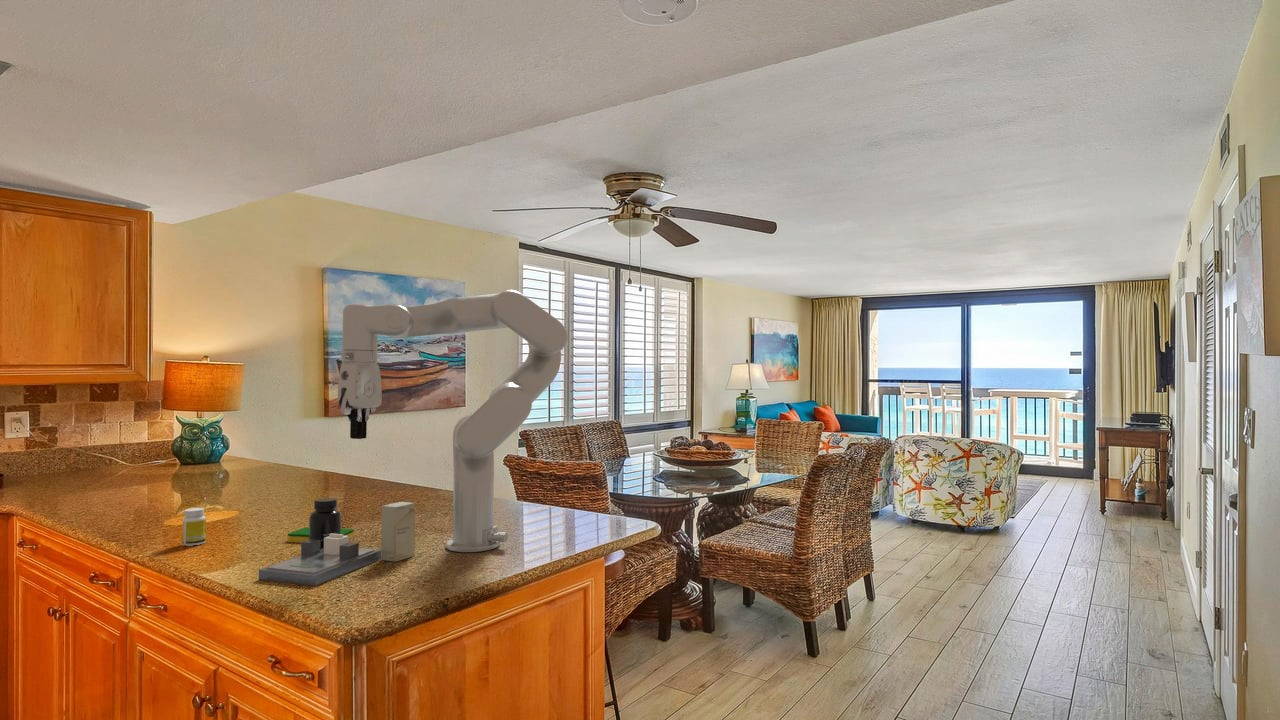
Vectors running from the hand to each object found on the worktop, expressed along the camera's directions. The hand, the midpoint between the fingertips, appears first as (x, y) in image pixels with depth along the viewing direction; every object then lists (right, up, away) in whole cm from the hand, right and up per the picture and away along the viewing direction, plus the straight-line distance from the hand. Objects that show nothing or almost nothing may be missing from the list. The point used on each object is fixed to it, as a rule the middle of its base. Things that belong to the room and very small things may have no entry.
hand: (358, 438), depth 159 cm
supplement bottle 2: (-9, -27, +3) cm, 29 cm away
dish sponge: (-15, -28, +14) cm, 35 cm away
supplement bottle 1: (-44, -27, +9) cm, 52 cm away
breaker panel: (-3, -27, -11) cm, 29 cm away
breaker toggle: (-2, -24, -7) cm, 25 cm away
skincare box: (+10, -27, -3) cm, 29 cm away
